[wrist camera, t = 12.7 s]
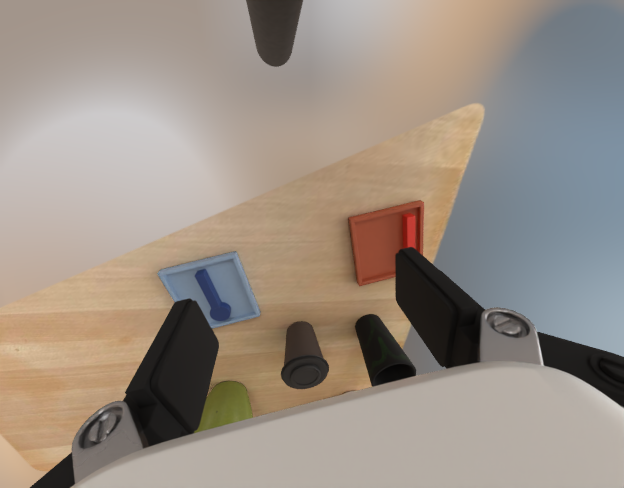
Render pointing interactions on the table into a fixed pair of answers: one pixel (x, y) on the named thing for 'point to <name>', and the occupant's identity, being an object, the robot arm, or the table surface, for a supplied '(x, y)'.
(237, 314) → the blue tray
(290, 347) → the coffee cup
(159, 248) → the table surface
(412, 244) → the red spoon
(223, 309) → the blue spoon
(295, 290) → the table surface
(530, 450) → the robot arm
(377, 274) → the red tray
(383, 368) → the cup
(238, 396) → the flower pot
